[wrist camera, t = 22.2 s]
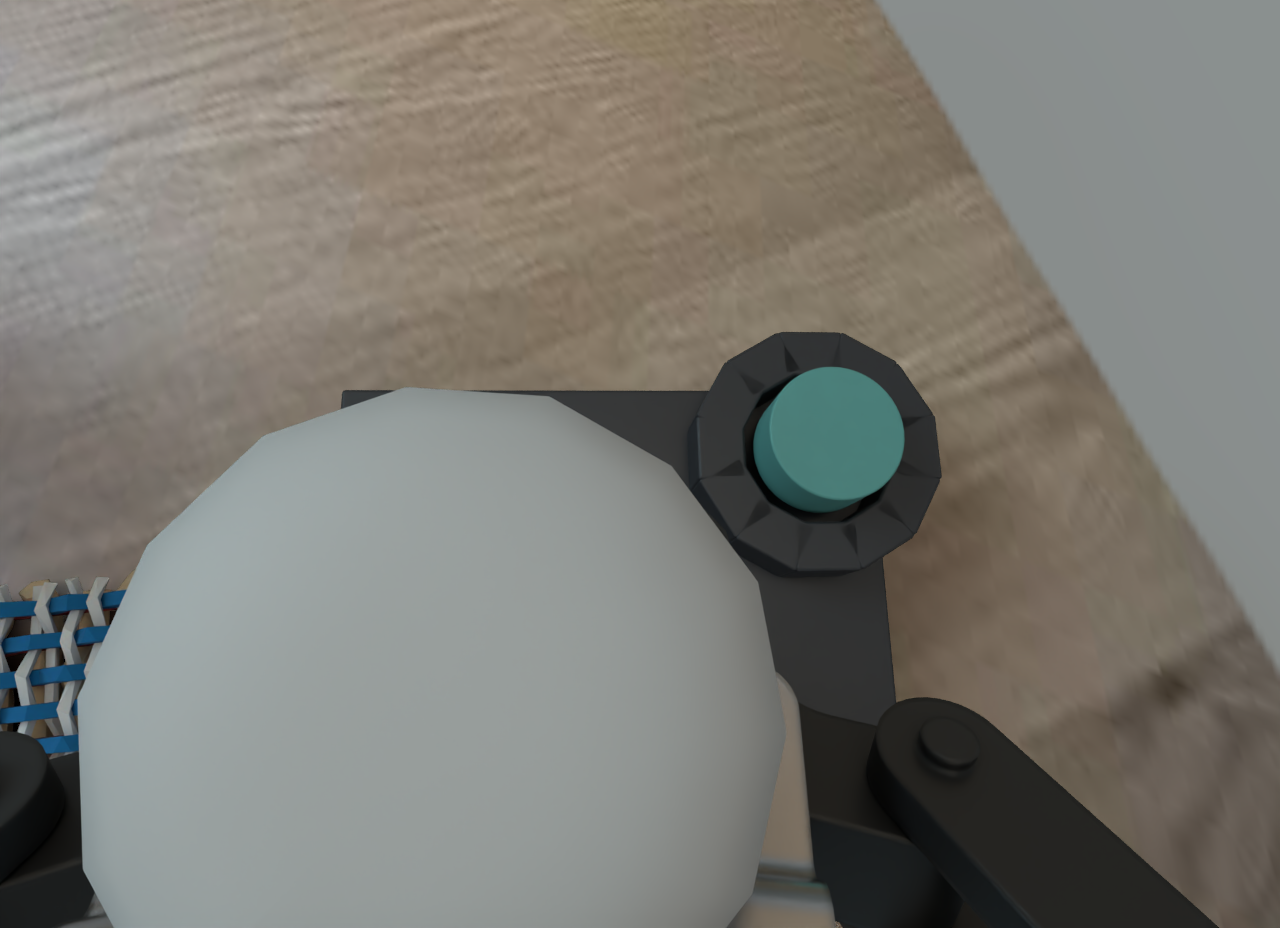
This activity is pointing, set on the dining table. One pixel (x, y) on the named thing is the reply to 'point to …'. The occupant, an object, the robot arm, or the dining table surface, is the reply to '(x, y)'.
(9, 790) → the robot arm
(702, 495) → the scale
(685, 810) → the salt shaker
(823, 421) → the button
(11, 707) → the woven mat
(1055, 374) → the dining table surface
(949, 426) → the dining table surface
